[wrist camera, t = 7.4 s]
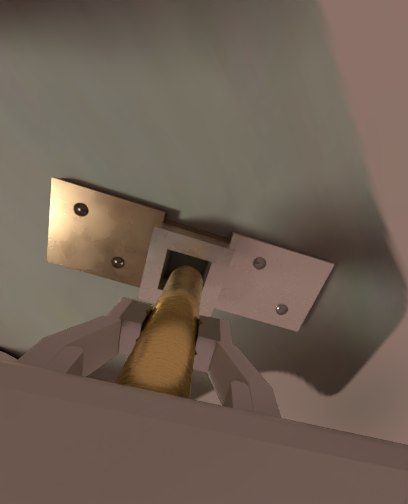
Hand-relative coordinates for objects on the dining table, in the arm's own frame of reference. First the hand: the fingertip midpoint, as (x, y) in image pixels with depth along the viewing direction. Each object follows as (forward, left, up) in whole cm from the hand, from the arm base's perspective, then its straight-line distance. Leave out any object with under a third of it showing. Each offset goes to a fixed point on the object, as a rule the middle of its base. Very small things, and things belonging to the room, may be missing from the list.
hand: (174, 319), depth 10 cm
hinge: (0, 0, -10) cm, 10 cm away
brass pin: (0, 0, -4) cm, 4 cm away
